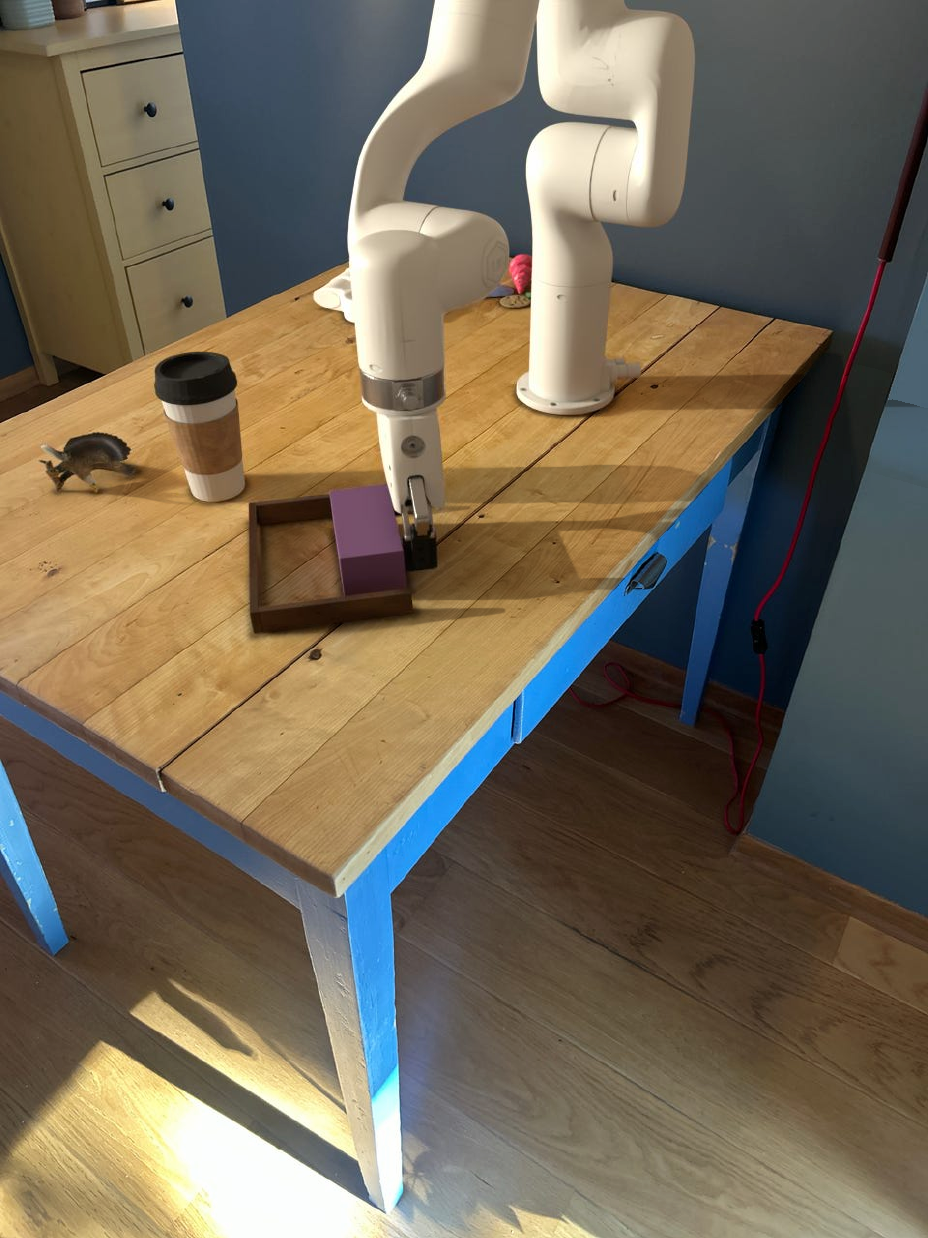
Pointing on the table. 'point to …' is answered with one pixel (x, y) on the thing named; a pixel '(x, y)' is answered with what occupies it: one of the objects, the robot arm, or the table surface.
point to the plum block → (367, 540)
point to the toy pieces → (516, 283)
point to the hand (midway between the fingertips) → (413, 539)
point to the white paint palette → (337, 295)
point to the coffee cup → (203, 421)
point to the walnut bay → (319, 608)
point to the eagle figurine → (88, 458)
